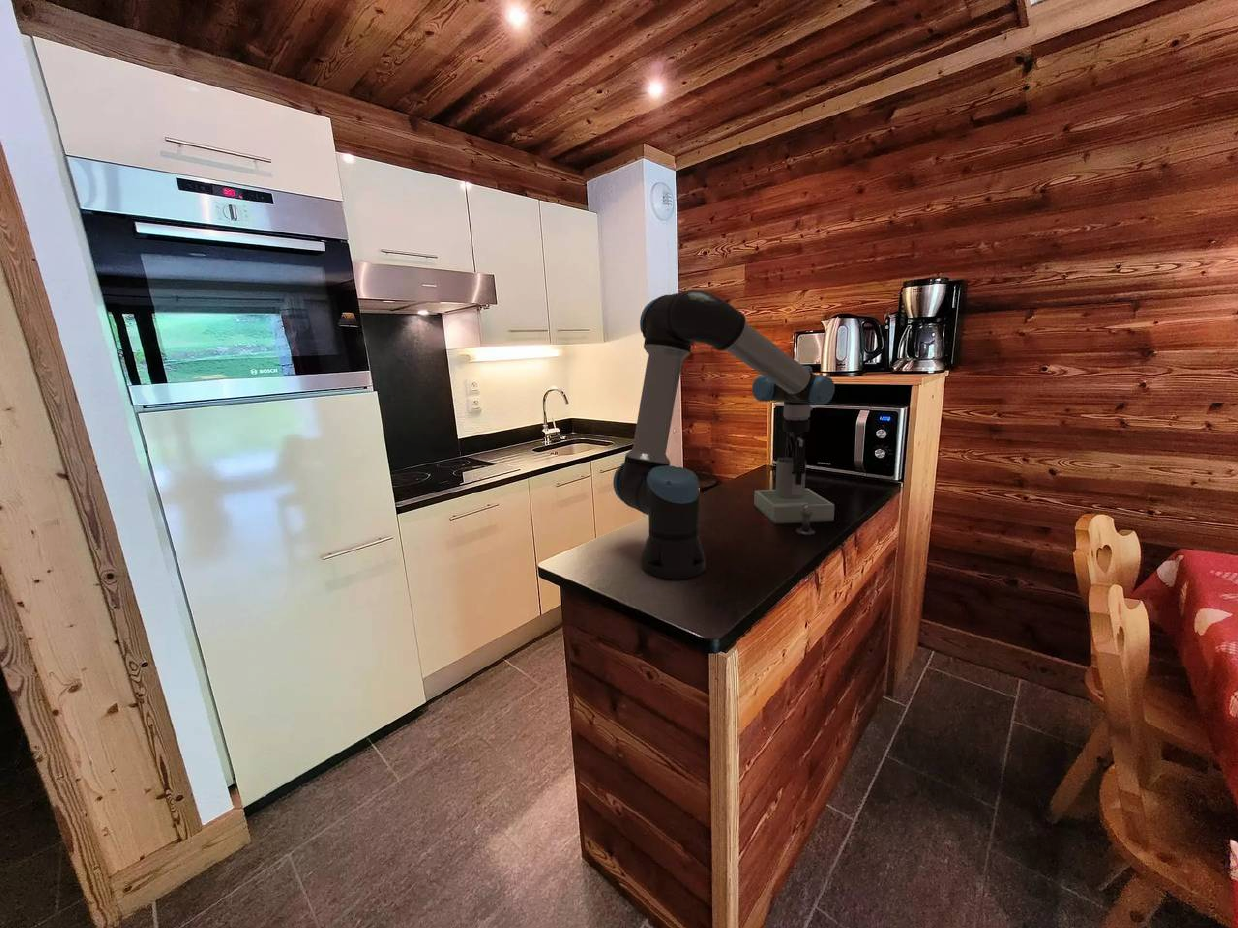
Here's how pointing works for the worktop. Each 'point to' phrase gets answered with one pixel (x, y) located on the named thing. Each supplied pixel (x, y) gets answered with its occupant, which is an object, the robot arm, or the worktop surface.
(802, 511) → the stud post
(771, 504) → the bin
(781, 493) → the mug
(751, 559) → the worktop surface
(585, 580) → the worktop surface
